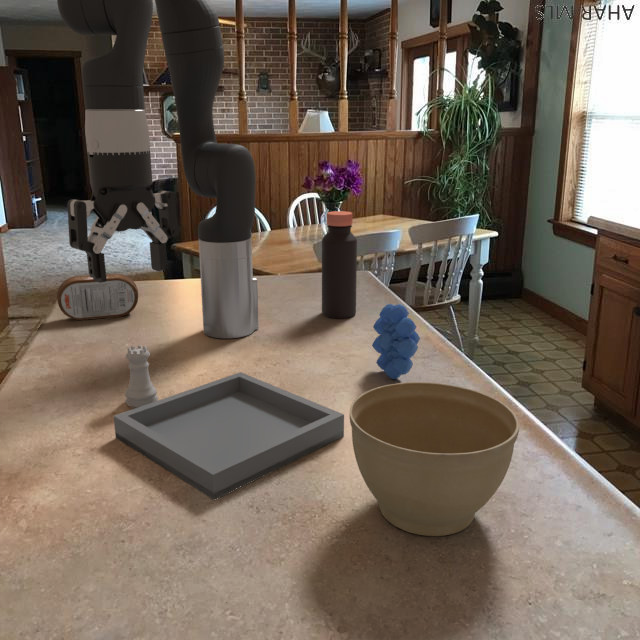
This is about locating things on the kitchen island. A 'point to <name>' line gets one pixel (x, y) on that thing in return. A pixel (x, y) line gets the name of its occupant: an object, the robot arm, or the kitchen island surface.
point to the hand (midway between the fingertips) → (129, 275)
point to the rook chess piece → (139, 379)
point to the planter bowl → (431, 452)
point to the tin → (97, 297)
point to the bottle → (339, 266)
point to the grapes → (395, 340)
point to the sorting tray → (228, 432)
